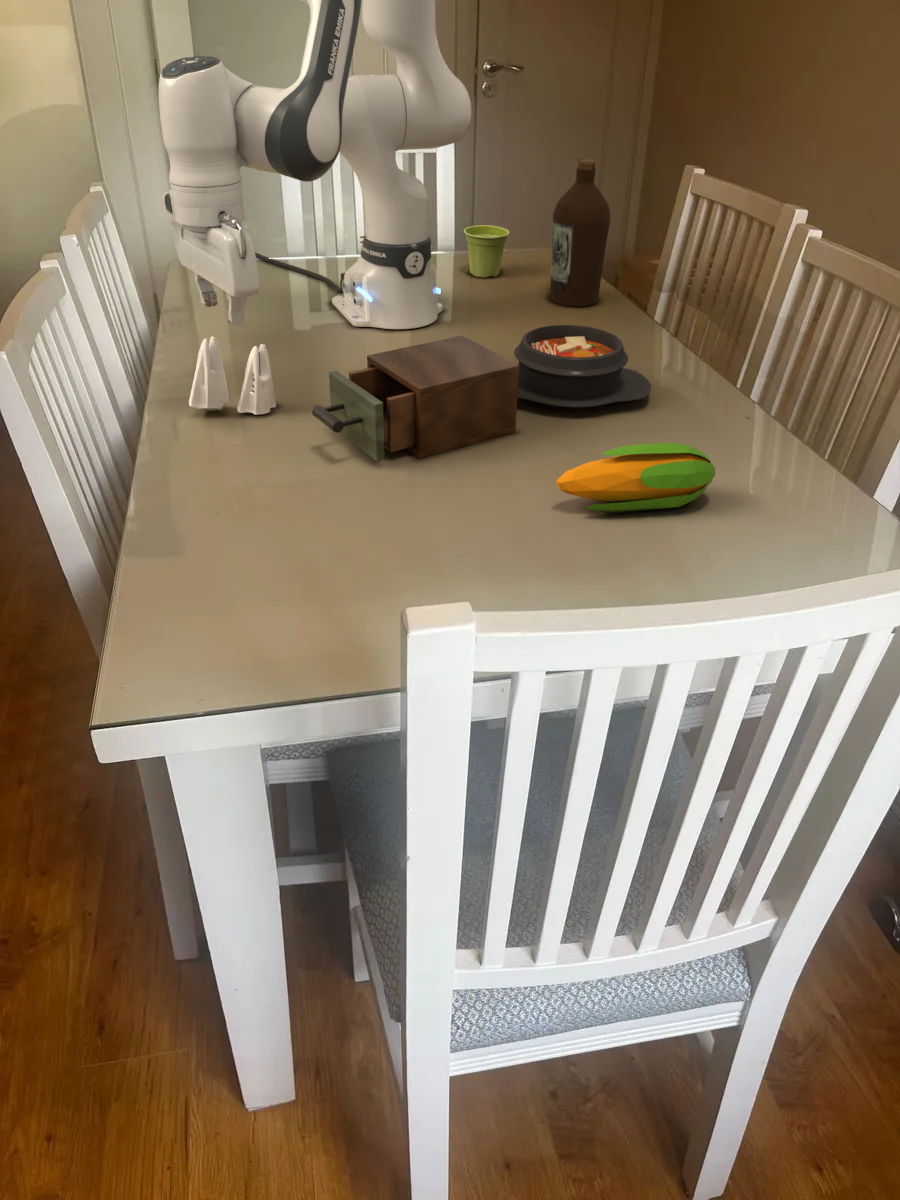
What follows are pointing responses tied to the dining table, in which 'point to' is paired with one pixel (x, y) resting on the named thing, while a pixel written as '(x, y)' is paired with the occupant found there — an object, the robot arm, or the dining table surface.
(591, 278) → the olive oil
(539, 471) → the dining table surface
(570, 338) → the casserole
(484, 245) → the plant pot
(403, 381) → the cabinet
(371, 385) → the drawer
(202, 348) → the shaker set
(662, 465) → the corn
